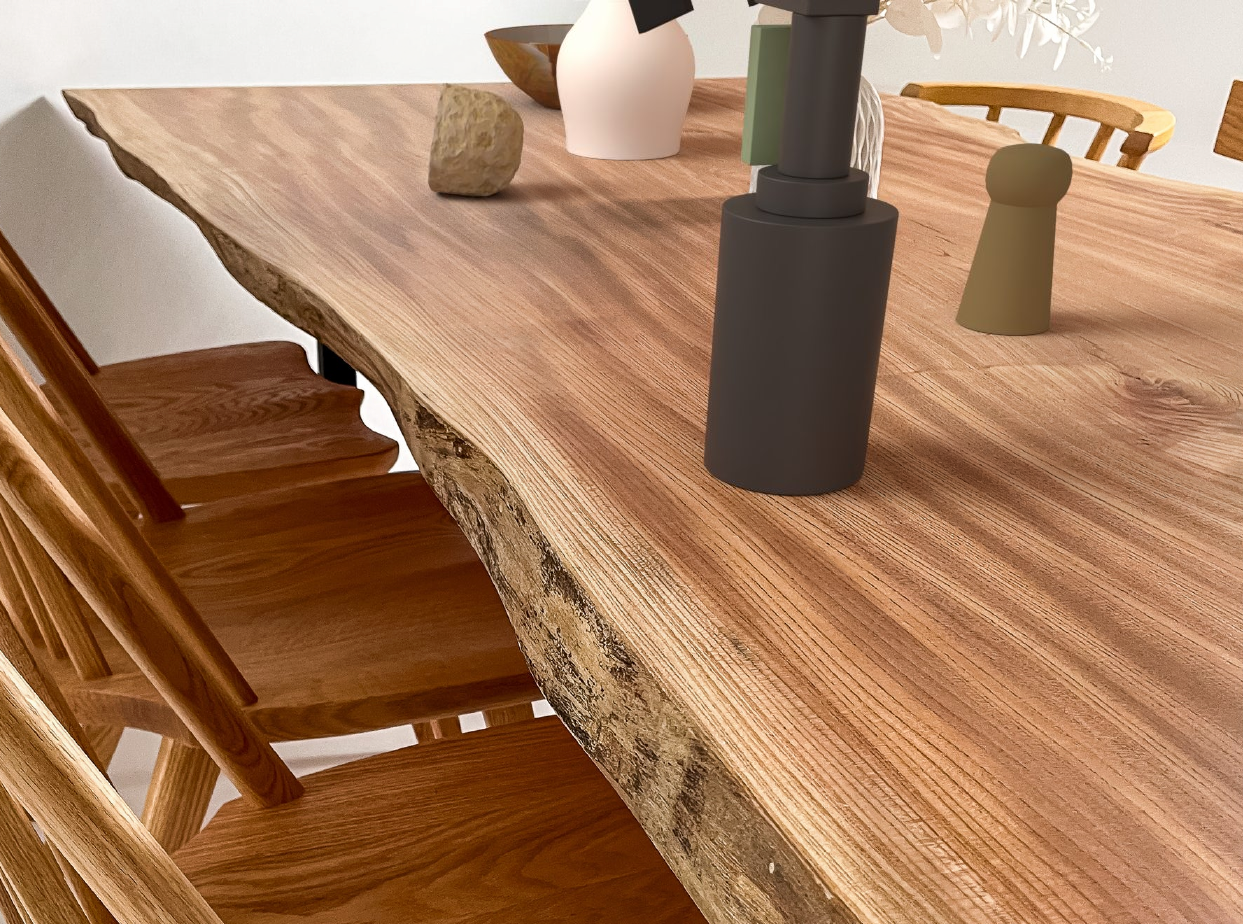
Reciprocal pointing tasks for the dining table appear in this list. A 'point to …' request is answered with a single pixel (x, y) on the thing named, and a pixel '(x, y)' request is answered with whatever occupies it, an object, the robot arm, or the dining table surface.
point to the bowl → (530, 58)
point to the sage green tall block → (765, 94)
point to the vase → (623, 85)
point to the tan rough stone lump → (474, 143)
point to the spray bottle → (802, 281)
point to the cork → (1017, 242)
